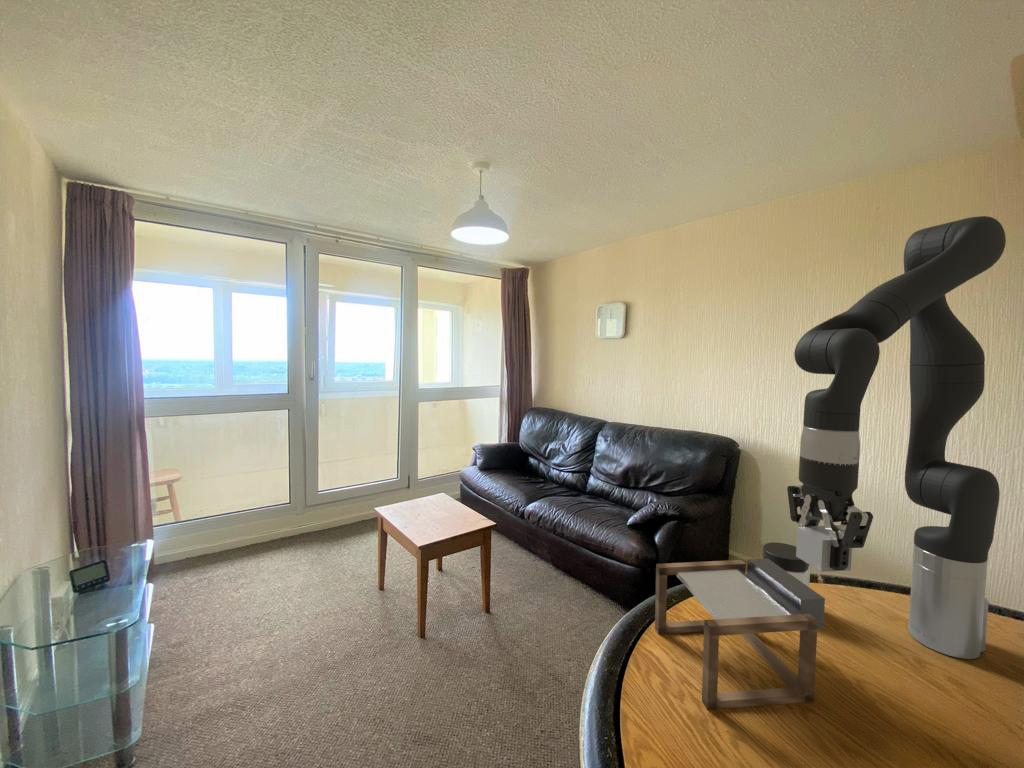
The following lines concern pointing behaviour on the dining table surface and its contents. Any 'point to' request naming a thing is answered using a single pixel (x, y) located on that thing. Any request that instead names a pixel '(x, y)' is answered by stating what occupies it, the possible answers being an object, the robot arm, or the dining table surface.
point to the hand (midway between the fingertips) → (822, 559)
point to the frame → (804, 623)
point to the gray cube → (816, 547)
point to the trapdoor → (753, 592)
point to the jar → (787, 560)
